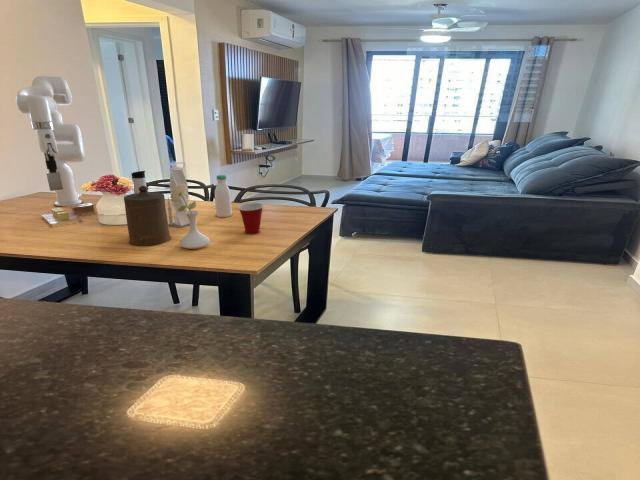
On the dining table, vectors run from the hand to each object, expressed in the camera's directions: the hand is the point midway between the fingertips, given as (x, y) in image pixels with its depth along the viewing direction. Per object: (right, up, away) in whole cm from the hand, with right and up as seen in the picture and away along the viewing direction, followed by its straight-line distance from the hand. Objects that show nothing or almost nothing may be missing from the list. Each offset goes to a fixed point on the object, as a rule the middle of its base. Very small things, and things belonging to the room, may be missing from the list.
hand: (52, 169), depth 170 cm
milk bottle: (+71, -19, +21) cm, 77 cm away
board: (-2, -22, +9) cm, 24 cm away
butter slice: (+1, -22, +5) cm, 23 cm away
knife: (0, -9, +3) cm, 10 cm away
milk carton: (+56, -25, +6) cm, 61 cm away
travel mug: (+27, -16, +31) cm, 43 cm away
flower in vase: (+70, -35, -22) cm, 81 cm away
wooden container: (+51, -32, -15) cm, 62 cm away
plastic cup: (+90, -28, -3) cm, 94 cm away
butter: (-4, -20, +11) cm, 23 cm away
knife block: (+3, -19, +18) cm, 26 cm away
